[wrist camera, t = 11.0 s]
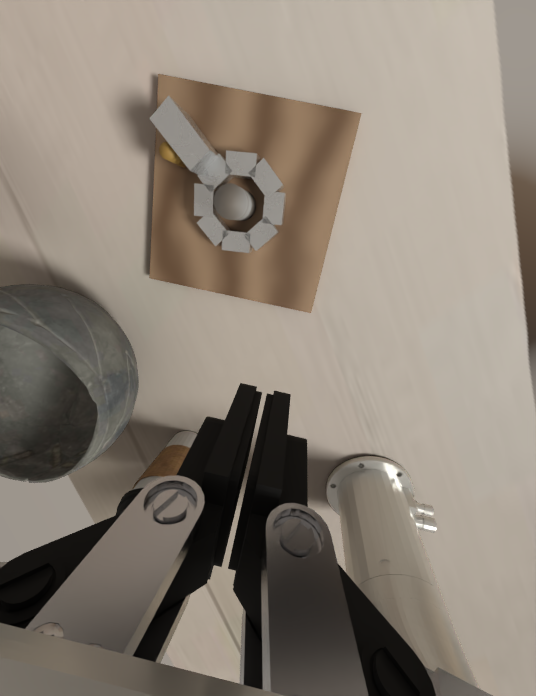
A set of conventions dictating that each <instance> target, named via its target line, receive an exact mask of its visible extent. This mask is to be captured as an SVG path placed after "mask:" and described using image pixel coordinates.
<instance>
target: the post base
mask: <svg viewBox="0 0 536 696" xmlns="http://www.w3.org/2000/svg"><path fill="white" fill-rule="evenodd" d="M168 96H170V97H171V98H172V99H173V100H174V101H175V102H176V103H177V104H178V105H179V106H180V107H181V108H182V109H183V110H184V111H186V112H187V113H188V114H189V115H190V117H191V118H192V119H193V121H194V122H195V123H196V125H197V126H198V127H199V129H200V130H201V131H202V133H203V134H204V135H205V137H206V138H207V140H208V141H209V142H210V144H211V145H212V146H213V148H214V149H215V150H216V152H217V153H218V154H221V155H222V156H223V157H224V158H225V159H226V150H227V151H237V152H247V153H257V154H258V156H259V157H260V161H261V160H262V159H263V158H264V159H265V160H266V161H267V163H268V164H269V166H270V167H271V168H272V170H273V171H274V173H275V174H276V175H277V177H278V178H279V180H280V181H281V182H282V184H283V185H284V188H283V189H282V190H280V191H279V192H282V193H286V201H285V210H284V219H283V225H275V227H276V228H277V229H278V231H279V233H277V234H276V235H275V236H274V237H273V238H272V239H270V240H269V241H268V242H267V243H266V244H265V245H263V246H262V247H261V248H260V249H259V250H257V251H255V249H254V248H252V252H251V253H244V252H235V251H227V250H222V244H221V245H219V246H215V245H214V244H213V243H212V241H211V240H210V239H209V238H208V237H207V235H206V234H205V233H204V232H203V230H202V229H201V228H200V227H199V225H198V224H197V222H198V221H199V220H200V219H201V218H202V217H203V216H194V183H197V184H203V183H202V181H201V180H200V179H199V177H198V176H197V175H198V174H196V173H194V172H192V171H190V170H189V169H188V168H187V166H186V165H185V164H184V162H183V161H182V160H181V159H180V157H179V156H178V155H177V153H176V152H175V151H174V150H173V148H172V147H171V146H170V144H169V143H168V142H167V141H166V139H165V138H164V137H163V136H162V134H161V133H160V132H159V130H158V129H157V128H156V141H155V164H154V186H153V209H152V232H151V255H150V278H151V279H156V280H161V281H165V282H170V283H174V284H179V285H184V286H188V287H193V288H198V289H202V290H207V291H211V292H216V293H221V294H225V295H230V296H235V297H239V298H244V299H248V300H253V301H258V302H262V303H267V304H272V305H276V306H281V307H285V308H290V309H295V310H299V311H304V312H309V313H311V311H312V307H313V303H314V299H315V295H316V291H317V287H318V283H319V279H320V275H321V271H322V267H323V263H324V259H325V255H326V251H327V248H328V244H329V240H330V236H331V232H332V228H333V224H334V220H335V216H336V212H337V208H338V204H339V200H340V196H341V192H342V188H343V184H344V180H345V176H346V172H347V168H348V164H349V160H350V156H351V153H352V149H353V145H354V141H355V137H356V133H357V129H358V125H359V121H360V117H361V113H357V112H352V111H347V110H342V109H337V108H331V107H326V106H321V105H316V104H311V103H306V102H300V101H295V100H290V99H285V98H280V97H275V96H269V95H264V94H259V93H254V92H249V91H244V90H238V89H233V88H228V87H223V86H218V85H213V84H207V83H202V82H197V81H192V80H187V79H182V78H176V77H171V76H166V75H161V74H158V95H157V109H158V108H159V106H160V105H161V104H162V103H163V102H164V100H165V99H166V98H167V97H168ZM260 161H259V162H260ZM264 197H265V195H264V194H263V192H262V191H261V190H260V188H259V187H258V186H257V184H256V183H255V182H254V180H253V179H245V178H236V177H233V178H232V179H231V180H230V181H229V182H228V183H227V184H224V185H222V186H220V187H219V188H218V190H217V191H216V193H215V196H214V206H215V209H216V211H217V212H218V215H219V216H220V217H221V218H222V220H223V221H224V222H225V224H226V225H227V226H228V227H229V229H230V230H233V231H242V232H248V231H249V230H250V229H252V228H253V227H254V226H255V225H256V224H257V223H258V222H259V221H261V220H262V219H263V208H264Z"/></svg>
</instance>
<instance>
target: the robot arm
mask: <svg viewBox="0 0 536 696" xmlns="http://www.w3.org/2000/svg"><path fill="white" fill-rule="evenodd" d="M256 388H257V387H256V386H251V385H247V384H242V383H240V386H239V388H238V390H237V393H236V395H235V398H234V400H233V403H232V405H231V407H230V410H229V412H228V415H227V417H226V419H225V420H221V419H217V418H212V417H206V419H205V421H204V422H203V424H202V426H201V428H200V430H199V432H198V434H197V436H196V438H195V440H194V442H193V444H192V446H191V448H190V449H189V451H188V453H187V455H186V457H185V459H184V461H183V463H182V465H181V467H180V469H179V471H178V473H177V475H176V476H165V477H161V478H158V479H156V480H154V481H152V482H150V483H149V484H148V485H147V486H146V487H144V488H143V489H142V490H141V491H140V493H139V494H138V495H137V496H136V497H135V499H134V500H133V501H132V502H131V503H130V505H129V506H128V507H127V508H126V509H125V511H124V512H123V513H121V514H118V515H116V516H114V517H111V518H109V519H106V520H104V521H101V522H99V523H97V524H94V525H92V526H89V527H87V528H85V529H82V530H80V531H77V532H75V533H72V534H70V535H68V536H65V537H63V538H60V539H58V540H55V541H53V542H51V543H48V544H46V545H43V546H41V547H39V548H36V549H34V550H31V551H29V552H26V553H24V554H22V555H20V556H18V557H16V558H14V559H13V560H11V561H9V562H0V696H492V695H490V694H488V693H486V692H484V691H483V690H481V689H480V687H479V685H478V683H477V680H476V678H475V676H474V674H473V672H472V670H471V667H470V665H469V663H468V660H467V658H466V656H465V653H464V651H463V648H462V646H461V643H460V641H459V638H458V636H457V633H456V631H455V628H454V626H453V623H452V620H451V618H450V615H449V612H448V610H447V607H446V604H445V602H444V599H443V596H442V594H441V591H440V588H439V586H438V583H437V580H436V577H435V575H434V572H433V569H432V567H431V564H430V561H429V558H428V556H427V553H426V550H425V548H424V545H423V542H422V539H421V537H420V534H419V531H418V529H420V530H423V531H427V532H431V533H434V532H435V531H436V521H435V519H434V518H431V517H426V516H422V515H420V516H419V515H415V514H416V513H417V512H418V513H421V514H424V515H428V516H433V514H434V509H433V507H432V506H430V505H426V504H419V503H417V502H416V501H415V500H414V486H413V483H412V481H411V478H410V476H409V475H408V473H407V472H406V471H405V470H404V469H403V468H402V467H401V466H400V465H398V464H397V463H395V462H393V461H391V460H388V459H386V458H381V457H375V456H364V457H358V458H353V459H351V460H348V461H346V462H344V463H342V464H341V465H339V466H338V467H337V468H336V469H335V470H333V472H332V473H331V475H330V476H329V478H328V481H327V486H326V492H327V499H328V502H329V504H330V506H331V507H332V509H333V510H334V511H335V512H336V513H337V514H338V515H339V516H340V523H341V531H342V540H343V548H344V557H345V565H346V572H345V571H344V570H343V569H342V568H341V567H340V566H339V564H338V563H337V559H336V554H335V550H334V546H333V542H332V537H331V534H330V531H329V529H328V526H327V524H326V523H325V522H324V520H323V519H322V517H321V516H320V515H318V514H317V513H316V512H315V511H314V510H312V509H310V508H308V504H307V440H306V439H304V438H299V437H295V436H291V435H287V429H288V417H289V406H290V394H287V393H282V392H278V391H274V394H273V395H271V394H267V396H266V401H265V405H264V410H263V414H262V418H261V423H260V427H259V431H258V436H257V440H256V445H255V449H254V453H253V458H252V462H251V466H250V471H249V475H248V480H247V484H246V489H245V493H244V498H243V502H242V507H241V512H240V516H239V521H238V525H237V530H236V535H235V539H234V544H233V548H232V553H231V557H230V562H229V567H228V569H232V570H236V574H235V579H234V584H233V585H234V588H233V591H234V592H235V594H236V596H237V597H238V599H239V601H240V603H241V604H242V606H243V614H242V632H241V660H240V684H238V683H234V682H230V681H226V680H223V679H219V678H215V677H211V676H207V675H203V674H199V673H196V672H192V671H188V670H184V669H180V668H176V667H172V666H168V665H164V664H161V660H162V658H163V656H164V654H165V652H166V649H167V647H168V645H169V643H170V641H171V639H172V636H173V634H174V632H175V630H176V628H177V625H178V623H179V621H180V619H181V617H182V614H183V612H184V610H185V608H186V606H187V604H188V600H189V597H190V594H191V593H192V592H194V591H196V590H197V589H199V588H200V587H202V586H203V585H205V584H206V583H207V580H208V579H210V577H211V573H212V569H213V566H214V565H216V566H220V567H221V566H222V563H223V559H224V555H225V551H226V547H227V543H228V538H229V534H230V530H231V526H232V522H233V518H234V514H235V510H236V506H237V502H238V498H239V494H240V490H241V486H242V482H243V478H244V474H245V469H246V465H247V461H248V457H249V452H250V447H251V442H252V438H253V433H254V428H255V423H256V419H257V414H258V409H259V405H260V400H261V395H262V392H258V391H256ZM417 528H418V529H417Z"/></svg>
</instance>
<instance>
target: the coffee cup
mask: <svg viewBox="0 0 536 696" xmlns="http://www.w3.org/2000/svg"><path fill="white" fill-rule="evenodd" d="M196 436H197V433H195V432H192V431H182V432H179V433H177V434H175V435H174V437H173V438H172V439H171V440H170V442H169V443H168V444H167V445H166V447H165V448H164V449H163V450H162V452H161V453H160V454H159V455H158V456H157V458H156V459H155V460H154V461H153V463H152V464H151V465H150V466H149V467H148V469H147V470H146V471H145V472H144V474H143V475H142V476H141V477H140V478H139V480H138V481H137V482H136V483H135V485H134V487H133V490H131V491H129V492H128V493H126V494H125V495H124V496H123V497H122V499H121V501H120V503H119V505H118V507H117V513H116V515H118V514H121V513H123V512H124V511H125V509H126V508H127V507H128V506H129V505H130V503H131V502H132V501H133V500H134V499H135V497H136V496H137V495H138V494H139V493H140V491H141V490H142V489H143V488H144V487H146V486H147V485H148V484H149V483H150V482H152V481H154V480H156V479H158V478H161V477H165V476H176V475H177V473H178V471H179V469H180V467H181V465H182V463H183V461H184V459H185V457H186V455H187V453H188V451H189V449H190V448H191V446H192V444H193V442H194V440H195V438H196ZM116 515H115V516H116Z"/></svg>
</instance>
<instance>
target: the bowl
mask: <svg viewBox="0 0 536 696" xmlns="http://www.w3.org/2000/svg"><path fill="white" fill-rule="evenodd" d="M137 393H138V370H137V362H136V358H135V355H134V351H133V349H132V346H131V344H130V342H129V340H128V338H127V336H126V335H125V333H124V332H123V331H122V329H121V328H120V326H119V325H118V324H117V323H116V322H115V320H114V319H113V318H112V317H111V316H110V315H109V314H108V313H107V312H106V311H105V310H104V309H103V308H102V307H100V306H99V305H98V304H96V303H95V302H93V301H91V300H90V299H88V298H86V297H84V296H81V295H79V294H77V293H75V292H72V291H69V290H66V289H63V288H60V287H54V286H44V285H11V286H5V287H0V476H2V477H6V478H9V479H13V480H19V481H29V482H30V483H32V482H33V483H38V482H39V483H40V482H49V481H53V480H56V479H59V478H61V477H64V476H66V475H68V474H70V473H72V472H74V471H77V470H79V469H80V468H82V467H84V466H85V465H87V464H88V463H90V462H92V461H93V460H95V459H96V458H97V457H98V456H100V455H101V454H102V453H103V452H105V451H106V450H107V449H108V448H109V447H110V446H111V445H112V444H113V443H114V442H115V440H116V439H117V438H118V437H119V436H120V434H121V433H122V432H123V430H124V429H125V427H126V425H127V424H128V422H129V420H130V417H131V415H132V412H133V409H134V405H135V401H136V397H137Z"/></svg>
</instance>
